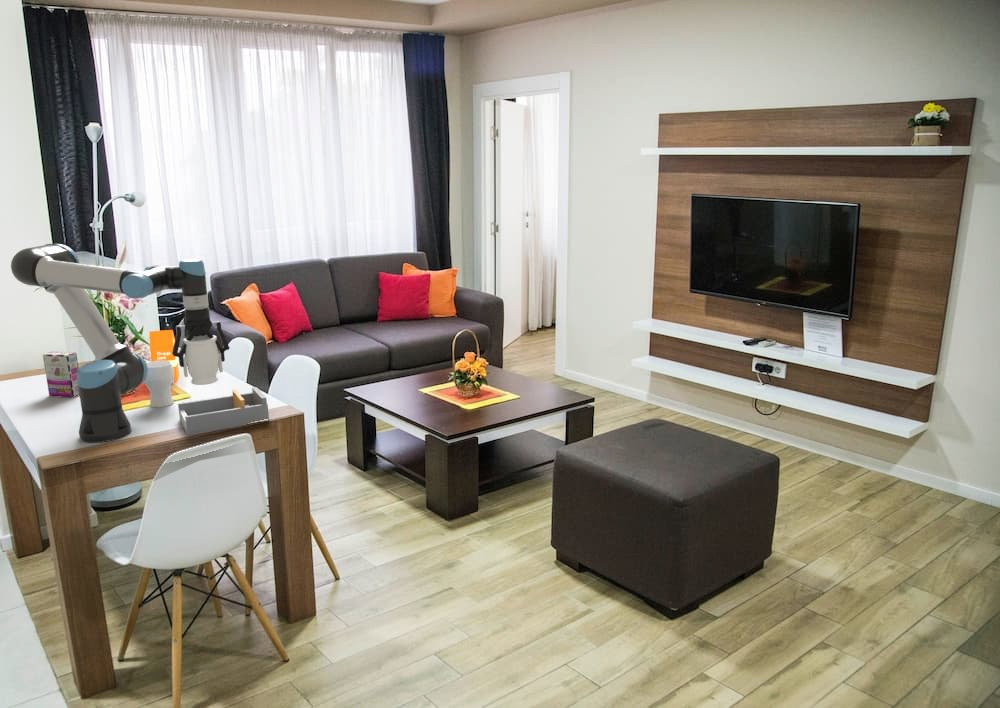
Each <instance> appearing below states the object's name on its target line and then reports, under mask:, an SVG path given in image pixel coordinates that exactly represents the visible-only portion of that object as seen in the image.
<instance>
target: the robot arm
mask: <svg viewBox="0 0 1000 708" xmlns="http://www.w3.org/2000/svg"><path fill="white" fill-rule="evenodd" d="M10 263H11V264H10V269H11V273H12V274H13V277H15V279H16V280H17V281H19V282H20V283H22V284H24V285H27V286H31V287H33V286H34V287H41V288H43V289H44V290H45V291H46V292H47V293H50V294H53V295H54V296H55V297H56V299H57V301H58V302H59V304H60V305H61V306H62V308H63V310H64V311H65V314H67V316H68V318H69V319H70V320H71V323H73V325H74V326H75V328H76V329H77V331H78V332H79V334H80V335H81V337H82V338H83V340H84V341H85V343H86V344H87V346H88V347H89V349H90V351H91V352H92V354H93V355H94V356H95V357H94V361H92V362H91V361H90V362H87V363H85V364H83V365H81V366H80V367H79V369H78V371H77V384H78V388H79V401H80V407H81V412H82V413H81V414H82V415H81V420H80V425H79V429H78V436H79V439H80V440H81V441H82V442H86V443H101V442H102V441H104V442H109V441H108V440H110V441H114V439H115V440H117V438H118V439H121V438H124V437H126V436H128V435H129V434H131V432H132V426H131V425H132V424H131V423H130V421H129V418H128V417H127V415H126V413H125V411H124V408H123V405H122V404H123V403H122V397H121V396H123V395H124V394H126V393H128V392H130V391H133V390H135V389H137V388H138V387H139V386H141V385H142V384H143V383H144V381H145V379H146V377H147V373H148V368H147V364H146V363H147V362H146V360H145V359H144V357H143V356H141V355H140V354H139V353H136V352H132V351H131V349H130V348H129V346H128V345H126V344H121V343H120V341H119V340H118V339H117V337H116V335H115V334H114V332H113V331H112V329H111V328H110V325H108V322H107V321H106V320H105V318H104V317H103V315H102V314H101V312H100V311H99V309H98V308H97V306H96V305H95V303H94V302H93V300H92V299H91V297H90V296H89V294H88V292H87V290H92V291H100V292H107V293H114V294H115V293H116V294H122V295H125V296H127V297H129V298H130V299H134V300H135V299H142V298H143V299H144V298H146V297H148V296H151V295H154V294H156V293H159V292H163V291H166V290H181V292H182V301H183V307H184V308H185V309H184V318H185V319H184V320H185V322H184V324H183V325H182V324H181V325H175V332H176V333H175V336H174V338H175V342H174V346H173V351H172V354H173V356H176V357H177V358H178V365H179V366H180V368H183V375H184V377H185V378H188V376H189V371H188V367H187V364H186V357H185V352H186V344H185V343H184V342H183V343H182V346H181V347H180V342H181V339H182V333H183V332H184V330H186V331H187V332H188V333H187V334H186V337H185V338H186V340H189V341H191V340H192V338H193V336H195V337H197V336H205V335H207V336H208V337H209V338H210V339H211V338H213V336H212V335H213V334H212V333H211V332H210V330H211V328H212V326H213V328H214V329H215V330H216V331H217V334H218V336H219V339H220V340H221V343H222V345H223V346H222V345H221V344H220V343H219V342H218V341H217V340H216V341H215V343H216V345H217V348H218V354H219V363H218V371H219V373H223V372H224V371H223V362H225V361H226V360H225V352H226V351H228V350H230V345H229V343H228V340H227V338H226V337H225V334H224V333H223V330H222V323H221V321H219V320H216V321H211V315H210V308H209V307H208V306H209V298H208V290H207V289H208V288H207V278H206V275H207V274H206V273H207V272H206V269H205V263H204V261H203V260H202V259H200V258H190V259H189V258H187V259H182V260H180V261H179V262H178V265H150V266H148V265H147V266H146V267H145V268H144V270H142V271H141V270H140V271H138V270H131V269H124V268H116V267H108V266H101V265H94V264H85V263H80V259H79V258H78V255H77V254H76V252H75V251H74V250H73V249H72V248H71V247H69V246H67V245H66V244H62V243H45V244H44V245H39V246H34V247H27V248H23V249H21V250H19V251H18V252H17V253H16V254H14V256H13V257H12V260H11V262H10ZM179 348H180V350H179ZM125 435H126V436H125ZM123 436H124V437H123ZM120 437H121V438H120Z"/></svg>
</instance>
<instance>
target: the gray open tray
mask: <svg viewBox="0 0 1000 708" xmlns="http://www.w3.org/2000/svg"><path fill="white" fill-rule="evenodd" d="M251 390H252V391H251V392H245V393H239V394H240V395H241V396H242V398H243V399H244V401H245V405H249V406H247V407H241V408H234V402H233V394H232V395H231V394H230V395H226V396H219V397H218V396H217V397H211V398H206V399H198V400H191V401H185V402H180V403H179V402H178V403H177V406H178V414H179V421H180V423H181V425H182V427H183V429H184V431H185V432H186V435H187V434H188V436H189V435H190V436H191V435H195V434H201V433H207V432H208V433H209V432H213V431H219V430H220V431H221V430H226V429H231V428H237V427H238V428H239V427H243V426H242V425H244V424H248V423H251V422H255V421H260V420H264V419H269V420H270V416H269V405H268V401H267V396H265V394H264V393H263V392H262V391H261V390H260V389H259V387H256V386H255V387H251ZM244 426H245V425H244Z"/></svg>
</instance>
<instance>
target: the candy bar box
mask: <svg viewBox="0 0 1000 708" xmlns="http://www.w3.org/2000/svg"><path fill="white" fill-rule="evenodd" d="M77 356H78V353H77V352H72V351H70V352H69V351H68V352H67V351H50V352H46V353H44V354H42V358H43V363H44V364H43V365H44V370H45V377H46V378H45V379H46V383H47V389H48V396H49V397H55V396H61V397H60V398H72V397H74V398H77V397H79V396H80V395H79V388H78V384H77V371H78V369H79V368H80V367H79V362H78V357H77ZM78 395H79V396H78ZM76 396H77V397H76Z"/></svg>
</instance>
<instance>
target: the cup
mask: <svg viewBox="0 0 1000 708" xmlns="http://www.w3.org/2000/svg"><path fill="white" fill-rule="evenodd" d="M146 364H147V368H148V373H147V377H146V379H145V381H144V382H143V383H144V384H145V386H146V388H147V389H148V391H149V395H150V399H149V402H150V403H149V406H150V407H151V408H164V407H168V406H171V405H173V404H174V400H173V397H172V393H171V391H172V387H171V386H172V385H173V382H174V381H173V379H174V369H173V366H172V364H171V362H170V361H154V362H151V361H149V362H146Z"/></svg>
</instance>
